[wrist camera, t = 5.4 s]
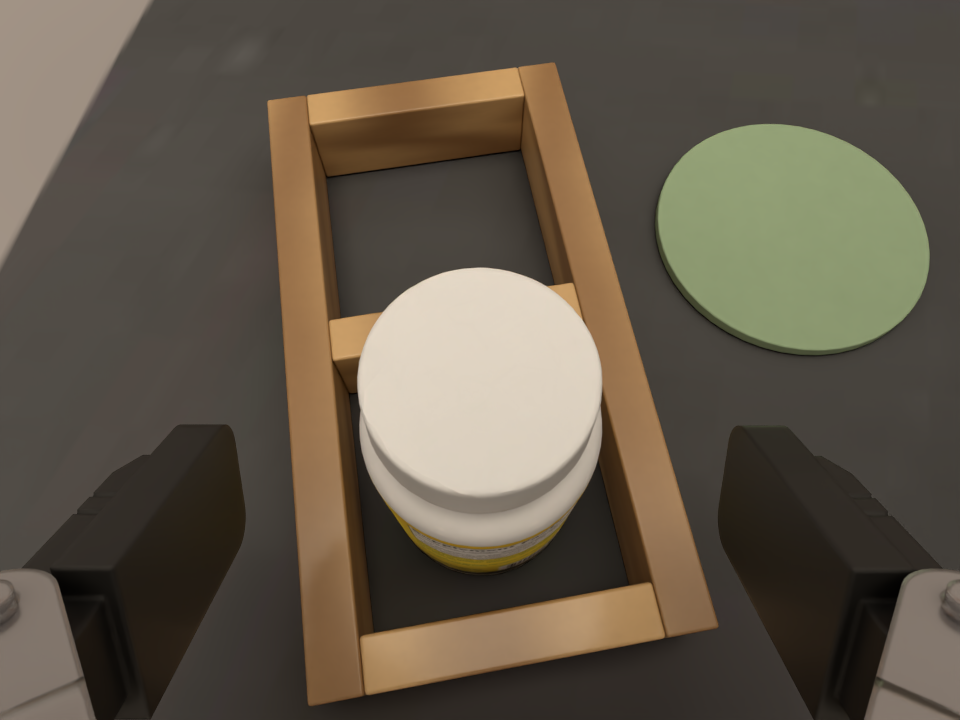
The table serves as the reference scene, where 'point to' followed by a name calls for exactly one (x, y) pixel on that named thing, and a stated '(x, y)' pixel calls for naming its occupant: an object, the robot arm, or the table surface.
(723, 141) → the coaster
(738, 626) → the table surface
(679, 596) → the rack
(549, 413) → the supplement bottle
